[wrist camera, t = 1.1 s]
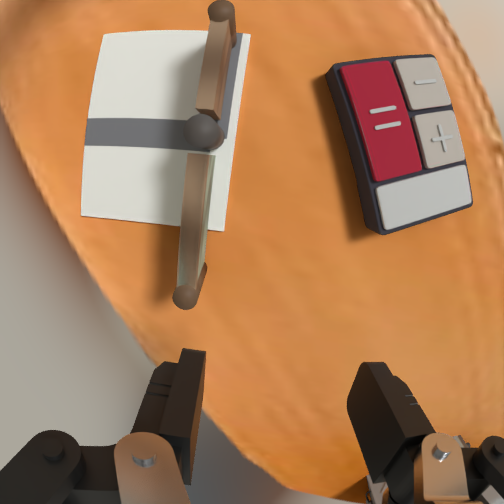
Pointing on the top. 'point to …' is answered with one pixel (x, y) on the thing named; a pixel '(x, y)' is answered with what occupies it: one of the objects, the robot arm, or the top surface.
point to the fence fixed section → (213, 78)
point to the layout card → (153, 126)
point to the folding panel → (194, 229)
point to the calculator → (401, 140)
